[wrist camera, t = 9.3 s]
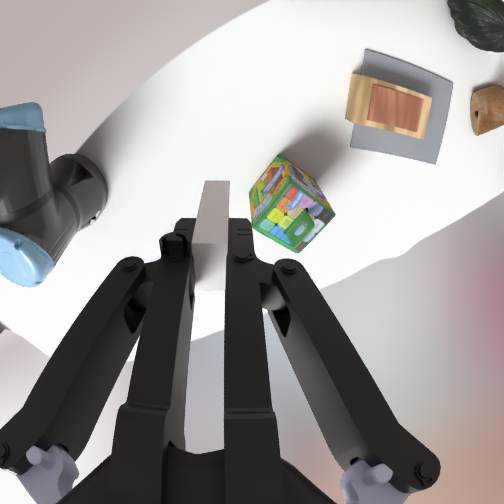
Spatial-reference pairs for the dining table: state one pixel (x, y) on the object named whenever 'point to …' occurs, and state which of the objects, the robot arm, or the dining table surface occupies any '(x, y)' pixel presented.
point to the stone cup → (487, 109)
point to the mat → (414, 81)
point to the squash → (480, 22)
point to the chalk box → (288, 206)
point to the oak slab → (387, 106)
